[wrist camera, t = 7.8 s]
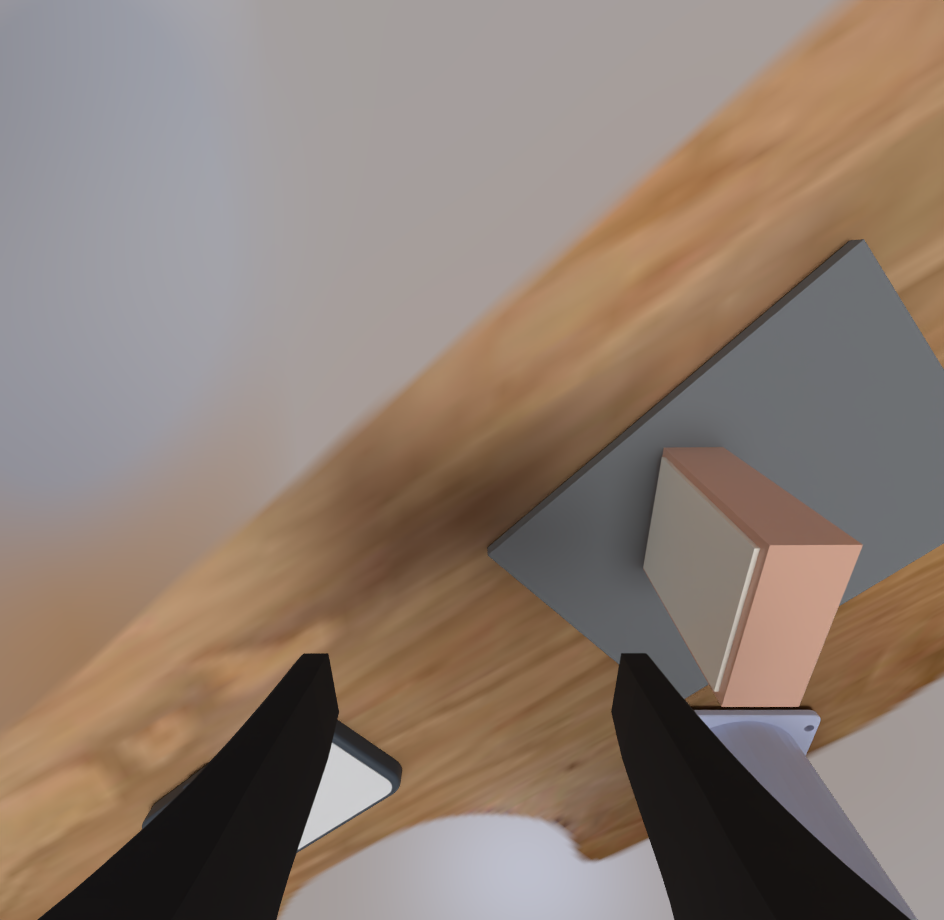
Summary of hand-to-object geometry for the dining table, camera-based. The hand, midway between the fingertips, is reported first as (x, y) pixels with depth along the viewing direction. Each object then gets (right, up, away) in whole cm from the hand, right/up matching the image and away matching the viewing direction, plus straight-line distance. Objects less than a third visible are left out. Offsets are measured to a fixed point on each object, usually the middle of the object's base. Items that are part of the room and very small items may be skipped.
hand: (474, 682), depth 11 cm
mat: (+12, +3, +9) cm, 15 cm away
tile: (+9, +3, +8) cm, 13 cm away
